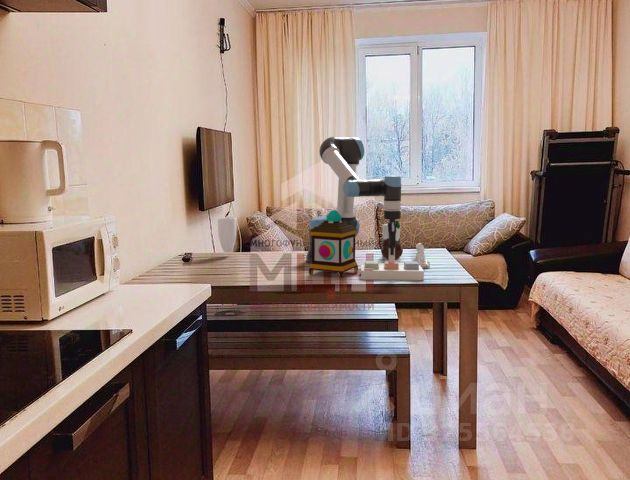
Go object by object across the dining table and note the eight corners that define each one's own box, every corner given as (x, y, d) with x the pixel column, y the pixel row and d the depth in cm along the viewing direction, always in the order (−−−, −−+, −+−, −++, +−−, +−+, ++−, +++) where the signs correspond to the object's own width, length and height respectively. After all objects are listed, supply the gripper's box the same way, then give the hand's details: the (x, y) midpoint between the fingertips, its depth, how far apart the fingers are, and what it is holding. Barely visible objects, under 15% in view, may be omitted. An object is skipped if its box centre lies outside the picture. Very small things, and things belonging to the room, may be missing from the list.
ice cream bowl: (389, 271, 271) (389, 240, 269) (376, 267, 281) (376, 237, 279) (407, 269, 276) (407, 238, 274) (393, 265, 286) (394, 236, 284)
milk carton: (394, 258, 306) (395, 221, 303) (379, 257, 311) (380, 220, 308) (402, 256, 313) (402, 220, 310) (387, 254, 318) (388, 219, 315)
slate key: (405, 273, 256) (405, 263, 255) (404, 271, 262) (404, 261, 261) (418, 273, 256) (418, 263, 255) (417, 271, 262) (417, 261, 261)
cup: (241, 256, 316) (240, 217, 313) (228, 258, 307) (227, 219, 304) (227, 254, 322) (226, 216, 319) (214, 257, 313) (213, 218, 310)
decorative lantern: (343, 279, 253) (343, 212, 249) (304, 275, 262) (304, 210, 258) (361, 272, 270) (362, 209, 266) (325, 268, 280) (325, 207, 276)
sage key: (365, 273, 257) (365, 263, 257) (364, 270, 263) (364, 261, 263) (378, 273, 257) (378, 263, 256) (377, 270, 263) (378, 261, 262)
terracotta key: (385, 273, 257) (385, 263, 256) (384, 270, 263) (384, 261, 262) (398, 273, 256) (398, 263, 256) (397, 270, 262) (397, 261, 262)
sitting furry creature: (429, 268, 278) (430, 244, 276) (412, 268, 280) (412, 244, 278) (429, 265, 287) (430, 241, 285) (412, 264, 289) (413, 241, 287)
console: (361, 279, 254) (361, 269, 253) (360, 273, 267) (360, 263, 267) (423, 279, 252) (423, 269, 251) (419, 273, 266) (420, 264, 265)
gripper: (402, 211, 249) (401, 264, 252) (399, 209, 262) (398, 259, 265) (384, 211, 249) (384, 264, 252) (383, 209, 262) (382, 259, 265)
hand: (391, 261), depth 259 cm, fingers closed
